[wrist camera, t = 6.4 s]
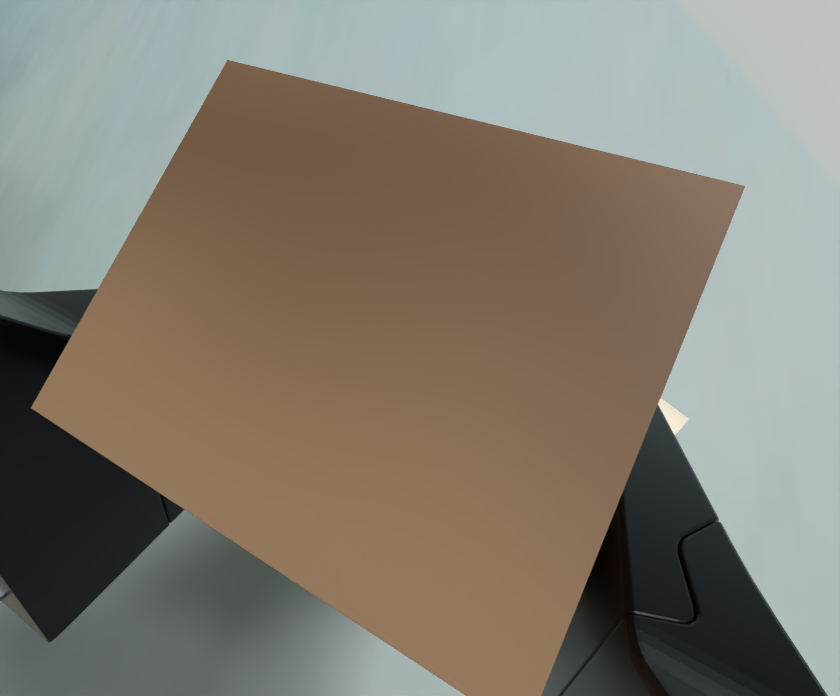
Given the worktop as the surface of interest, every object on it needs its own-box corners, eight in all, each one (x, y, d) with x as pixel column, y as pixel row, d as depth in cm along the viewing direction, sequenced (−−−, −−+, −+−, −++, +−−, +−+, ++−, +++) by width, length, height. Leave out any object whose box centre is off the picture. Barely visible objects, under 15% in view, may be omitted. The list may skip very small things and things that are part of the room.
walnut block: (537, 523, 14) (525, 735, 3) (394, 450, 16) (30, 407, 5) (589, 400, 15) (746, 186, 3) (444, 341, 16) (227, 60, 5)
